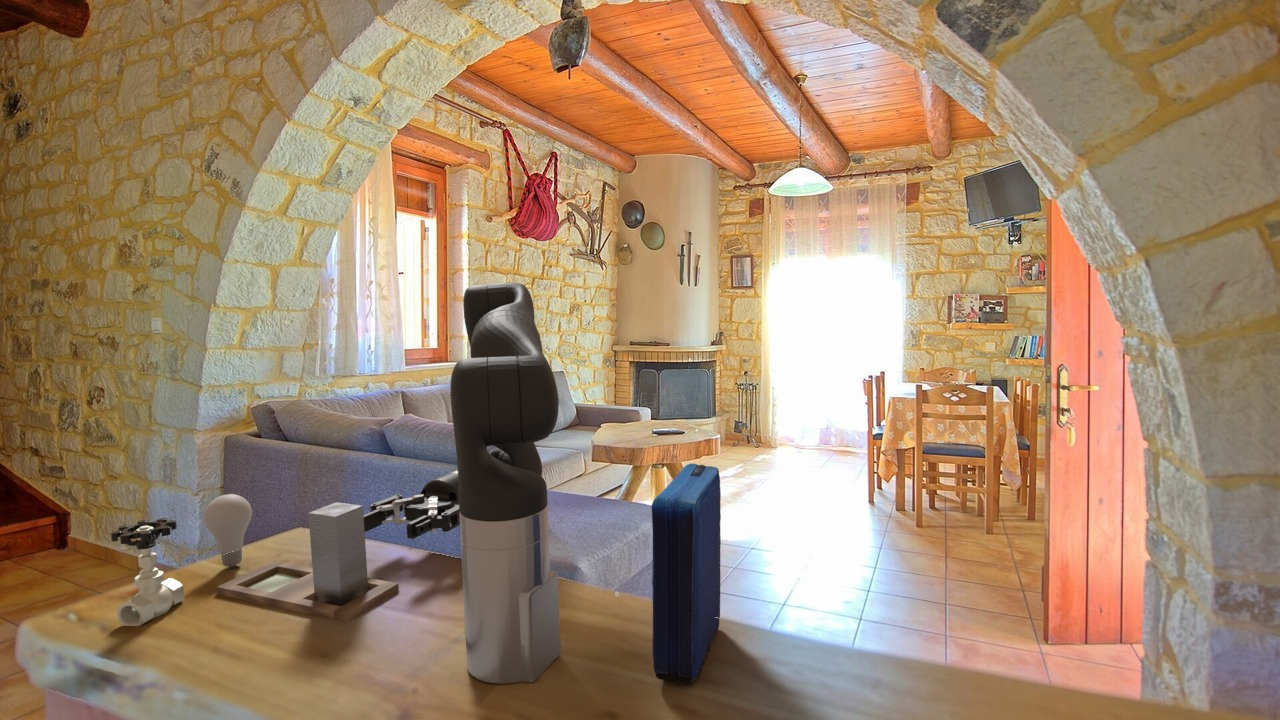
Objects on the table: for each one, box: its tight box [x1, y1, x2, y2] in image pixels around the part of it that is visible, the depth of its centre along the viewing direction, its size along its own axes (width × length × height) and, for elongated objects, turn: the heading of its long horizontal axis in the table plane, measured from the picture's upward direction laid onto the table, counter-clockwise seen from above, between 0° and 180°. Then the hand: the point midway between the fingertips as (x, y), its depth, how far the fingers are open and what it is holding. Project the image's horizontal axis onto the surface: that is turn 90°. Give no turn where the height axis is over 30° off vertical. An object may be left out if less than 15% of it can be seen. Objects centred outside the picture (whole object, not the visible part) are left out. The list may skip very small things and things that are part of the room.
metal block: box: [308, 501, 369, 607], centre depth 88 cm, size 4×4×12 cm
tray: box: [216, 560, 400, 623], centre depth 91 cm, size 22×9×2 cm, turn 68°
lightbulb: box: [203, 493, 253, 568], centre depth 101 cm, size 6×6×11 cm
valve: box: [110, 517, 185, 627], centre depth 85 cm, size 7×7×12 cm
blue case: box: [651, 463, 722, 685], centre depth 74 cm, size 14×5×20 cm, turn 162°
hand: (384, 528), depth 95 cm, fingers open, 8 cm apart
